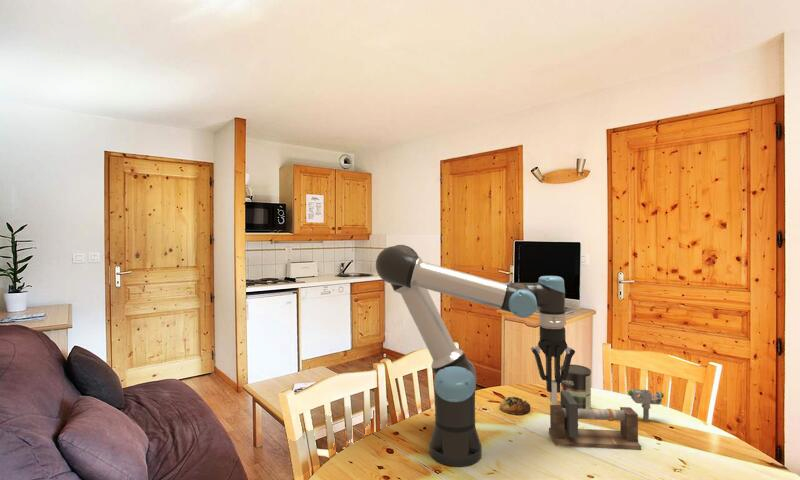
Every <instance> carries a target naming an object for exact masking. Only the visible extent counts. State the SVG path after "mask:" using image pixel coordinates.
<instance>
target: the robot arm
mask: <svg viewBox="0 0 800 480" xmlns="http://www.w3.org/2000/svg"><path fill="white" fill-rule="evenodd" d="M375 260H376V261H375V270H376V273H377V274H378V276H379V277H380V279H381V280H383V281H384V282H386V283H388V284H390V286H391V287H392V290H393V291H394V292H396V293H397V294H400V295H401V297H402V299H403V301H404V303H405V306H406V308H407V310H408V312H409V314H410V317H412V319H413V321H414V324H415V325H416V327H417V330H418V332H419V334H420V337H422V340H423V342H424V345H425V346H426V348H427V350H428V353H429V354H430V357H431V358H432V363H431V369H432V371H433V374H434V375H435V377H434V382H433V388H434V421H435V422H434V428H433V432H432V435H431V437H430V441H429V454H430V457H431V458H432V459H433V460H435V461H437V462H438V463H440V464H441V465H442V464H443V465H446V466H450V467H467V466H470V465H473V464H475V463H477V462H478V461H480V460H481V458H482V456H483V455H482V453H483V451H482V443H481V440H480V437H479V435H478V431H477V428H476V386H477V381H478V380H477V378H478V377H477V371H476V369H475V367H474V365H473V364H472V362H471V361H470V360H468V357H467V355H466V354H465V352H464V350H462V349H460V348H458V347H456V346H457V345H456V344H455V342H454V341H453V338H452V336H451V334H450V333H449V330H448V328H447V327H446V324H445V323H444V322H445V321H444V320H443V318H442V316H441V314H440V312H439V310H438V309H437V306H436V304H435V302H434V301H433V298H432V296H431V294H430V291H433V292H435V293H436V292H437V293H440V294H444V295H448V296H450V297H455V298H458V299H463V300H465V301H469V302H472V303H477V304H480V305H484V306H488V307H490V308H491V307H492V308H495V309H498V310H502V311H504V312H508V313H511V314H513V316H516V317H518V318H522V319H526V318H530V317H531V316H532V315H534V314H535V312H536V311H537V309H538V308H539V309H538V310H539V314H538V315H539V316H538V318H539V319H538V320H539V321H538V322H539V323H538V324H539V325H540V326H539V341H538V343H537V345H536V346H535V347H531V348H530V351H531V352H532V353H533V355H534V358H535V362H536V366H537V370H538V373H539V376H540V378H541V380H542V381H546V383H545V385H546V390H547V392H548V393H549V401H550V402H551V405H558V393H560V391H561V381H563V380H566V379H567V375H568V371H569V367H570V364H571V362H572V358H573V357H574V355H575V353H576V351H575V350H574V348H572V347H570V346H569V345H568V344H567V341H566V288H565V280H564V278H563V277H561V276H558V275H542V276H540V277H538V282H511V281H510V282H501V281H496V280H494V279H493V280H492V279H489V278H486V277H481V276H477V275H475V274H474V275H473V274H470V273H467V272H463V271H459V270H455V269H451V268H447V267H445V266H440V265H438V264H437V265H436V264H433V263H429V262H425V261H423V260H422V258H421V257H420V256H419V255H418V253H417V251H415V249H413V247H410V246H409V245H406V244H397V245H393V246H389V247H386V248H384V249H383V250H381V251H380V252H379V253H378V255H377V257H376V259H375ZM540 350H541V351H542V353H543V354H544V356H545V371H544V366H543V362H542V359H541V356H540V353H541V351H540ZM564 352H565V355H564V359H563V363H562V366H563V367H562V371H561V369H560V368H561V356H562V355H563V353H564ZM552 361H554V366H553V368H554V369H552V365H553V363H552ZM553 370H554V379H553V376H552V375H553V374H552V373H553V372H552V371H553Z"/></svg>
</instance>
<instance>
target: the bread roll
mask: <svg viewBox="0 0 800 480" xmlns="http://www.w3.org/2000/svg"><path fill="white" fill-rule="evenodd" d="M499 408H500V410H502V412H504V413H506V414H509V415H526V414H528V413H529V412H530V411H531V404H530V403H529V402H528V401H527V400H523V399H522V398H519V397H518V396H517V397H516V396H508V397H505V398H503V399H502V401H501V402H500V404H499Z"/></svg>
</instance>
